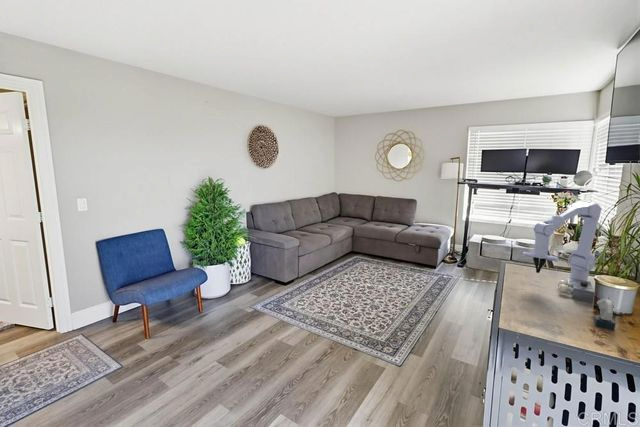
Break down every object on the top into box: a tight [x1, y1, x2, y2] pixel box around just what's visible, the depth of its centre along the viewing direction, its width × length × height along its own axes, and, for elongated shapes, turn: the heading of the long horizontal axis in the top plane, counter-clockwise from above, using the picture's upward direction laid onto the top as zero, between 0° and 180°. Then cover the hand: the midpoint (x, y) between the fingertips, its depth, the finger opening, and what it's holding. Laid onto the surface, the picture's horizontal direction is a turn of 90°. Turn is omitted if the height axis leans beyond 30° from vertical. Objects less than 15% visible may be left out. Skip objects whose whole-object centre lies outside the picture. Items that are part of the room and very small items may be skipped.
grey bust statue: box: [593, 298, 616, 332], centre depth 123 cm, size 6×8×11 cm
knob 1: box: [558, 284, 573, 294], centre depth 150 cm, size 12×4×4 cm, turn 56°
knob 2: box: [557, 279, 572, 288], centre depth 156 cm, size 12×4×4 cm, turn 56°
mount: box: [569, 278, 596, 304], centre depth 151 cm, size 15×8×7 cm, turn 146°
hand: (537, 272), depth 159 cm, fingers closed
